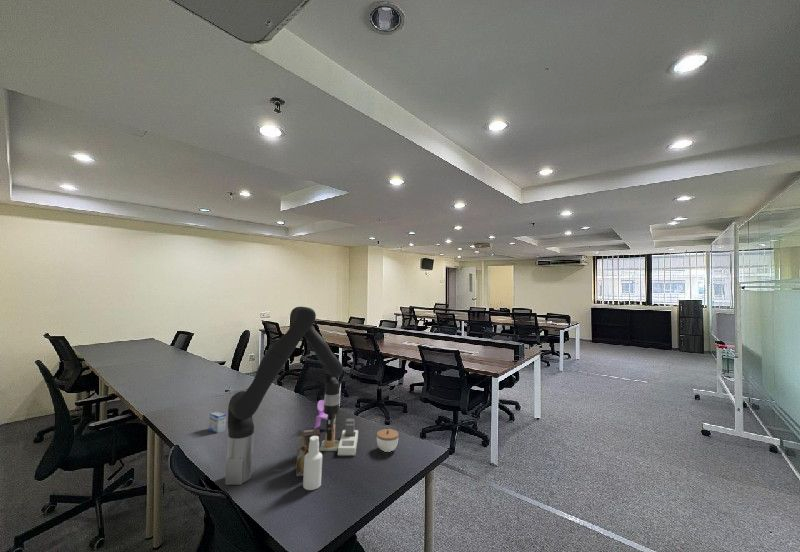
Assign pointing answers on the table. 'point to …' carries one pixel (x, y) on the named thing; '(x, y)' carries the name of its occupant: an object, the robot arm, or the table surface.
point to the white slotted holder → (348, 440)
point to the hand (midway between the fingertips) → (330, 436)
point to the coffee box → (304, 447)
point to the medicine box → (217, 422)
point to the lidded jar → (387, 439)
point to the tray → (322, 448)
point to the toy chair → (320, 413)
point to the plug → (331, 443)
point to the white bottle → (312, 465)
